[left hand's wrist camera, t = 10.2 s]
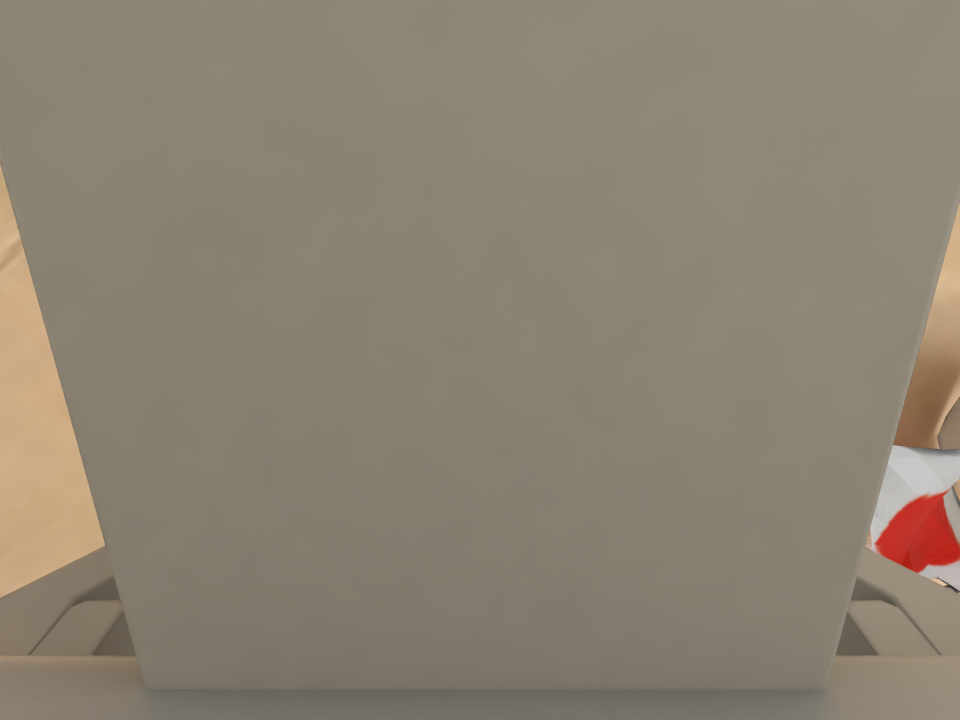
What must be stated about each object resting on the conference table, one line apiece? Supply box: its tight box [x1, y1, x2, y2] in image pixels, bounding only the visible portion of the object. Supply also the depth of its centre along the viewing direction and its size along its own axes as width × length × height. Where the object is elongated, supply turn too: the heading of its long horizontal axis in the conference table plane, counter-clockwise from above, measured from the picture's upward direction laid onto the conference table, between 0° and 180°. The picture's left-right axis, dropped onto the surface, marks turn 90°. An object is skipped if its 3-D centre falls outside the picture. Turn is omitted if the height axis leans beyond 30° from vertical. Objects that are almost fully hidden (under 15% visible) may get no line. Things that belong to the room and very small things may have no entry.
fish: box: [871, 397, 960, 594], centre depth 24 cm, size 11×16×10 cm
